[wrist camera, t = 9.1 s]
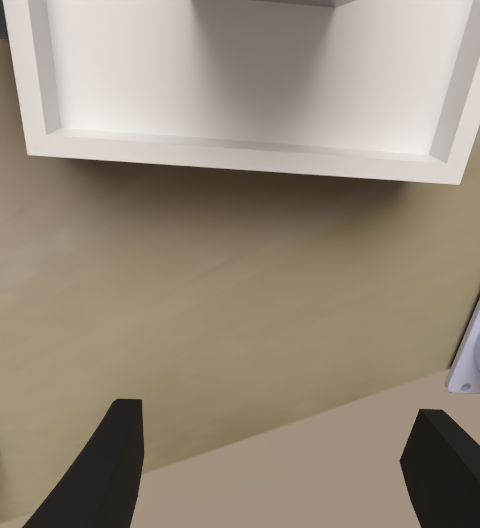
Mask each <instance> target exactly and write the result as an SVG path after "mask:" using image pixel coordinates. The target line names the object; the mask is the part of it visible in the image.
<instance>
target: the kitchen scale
mask: <svg viewBox="0 0 480 528" xmlns="http://www.w3.org/2000/svg"><path fill="white" fill-rule="evenodd" d="M0 38H3V39H9V42H10V48H11V55H12V61H13V67H14V73H15V79H16V86H17V92H18V98H19V104H20V110H21V117H22V123H23V129H24V135H25V141H26V148H27V154H28V155H34V156H49V157H63V158H78V159H93V160H107V161H122V162H136V163H151V164H166V165H180V166H195V167H209V168H224V169H238V170H253V171H268V172H282V173H297V174H311V175H326V176H341V177H355V178H370V179H384V180H399V181H414V182H428V183H443V184H457V185H460V182H461V179H462V176H463V173H464V170H465V167H466V164H467V161H468V158H469V155H470V152H471V149H472V146H473V143H474V140H475V137H476V134H477V131H478V128H479V125H480V0H356V1H353V2H350V3H348V4H345V5H342V6H339V7H336V8H333V7H322V6H311V5H300V4H289V3H277V2H266V1H255V0H0Z"/></svg>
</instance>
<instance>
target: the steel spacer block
mask: <svg viewBox="0 0 480 528" xmlns="http://www.w3.org/2000/svg"><path fill="white" fill-rule="evenodd" d="M255 1H266V2H277V3H289V4H300V5H311V6H322V7H333V8H336V7H339V6H342V5H345V4H348V3H350V2H353V1H356V0H255Z"/></svg>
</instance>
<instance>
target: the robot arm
mask: <svg viewBox="0 0 480 528" xmlns="http://www.w3.org/2000/svg"><path fill="white" fill-rule="evenodd" d="M464 384H465V385H464ZM445 386H446V388H447V389H448V391H450V392H451V393H467V394H468V393H469V394H480V298H479V301H478V303H477V306H476V308H475V311H474V313H473V315H472V318H471V320H470V323H469V325H468V328H467V330H466V333H465V335H464V337H463V340H462V342H461V345H460V347H459V350H458V352H457V354H456V357H455V359H454V362H453V364H452V367H451V369H450V372H449V374H448V376H447V379H446V381H445ZM143 459H144V438H143V416H142V400H141V399H116V400H115V401H113V403H112V404H111V406H110V408H109V410H108V411H107V413H106V415H105V416H104V418H103V420H102V421H101V423H100V424H99V426H98V427H97V429H96V430H95V432H94V434H93V435H92V436H91V438H90V439H89V441H88V442H87V444H86V445H85V447H84V448H83V450H82V451H81V452H80V454H79V455H78V457H77V458H76V459H75V461H74V462H73V464H72V465H71V466H70V468H69V469H68V470H67V472H66V473H65V475H64V476H63V477H62V479H61V480H60V481H59V483H58V484H57V485H56V486H55V488H54V489H53V490H52V491H51V493H50V494H49V495H48V496H47V498H46V499H45V500H44V501H43V503H42V504H41V505H40V506H39V508H38V509H37V510H36V512H35V513H34V514H33V515H32V516H31V518H30V519H29V520H28V521H27V522H26V524H25V525H24V526H23V527H22V528H130V524H131V520H132V516H133V512H134V509H135V504H136V501H137V497H138V491H139V484H140V478H141V472H142V466H143ZM400 464H401V468H402V471H403V475H404V479H405V483H406V486H407V490H408V493H409V496H410V500H411V503H412V505H413V508H414V510H415V513H416V515H417V518H418V520H419V522H420V525H421V528H480V445H478V444H477V442H476V441H475V440H473V439H472V438H471V437H470V436H469V435H468V434H467V433H466V432H465V431H464V430H463V429H462V428H461V427H460V426H459V425H458V424H457V423H456V422H455V421H454V420H453V419H452V418H451V417H450V416H449V415H447V414H446V413H445V412H444V411H443V410H433V409H420V410H419V412H418V415H417V417H416V420H415V423H414V425H413V428H412V430H411V433H410V436H409V438H408V441H407V443H406V446H405V448H404V451H403V454H402V456H401V459H400Z"/></svg>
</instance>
